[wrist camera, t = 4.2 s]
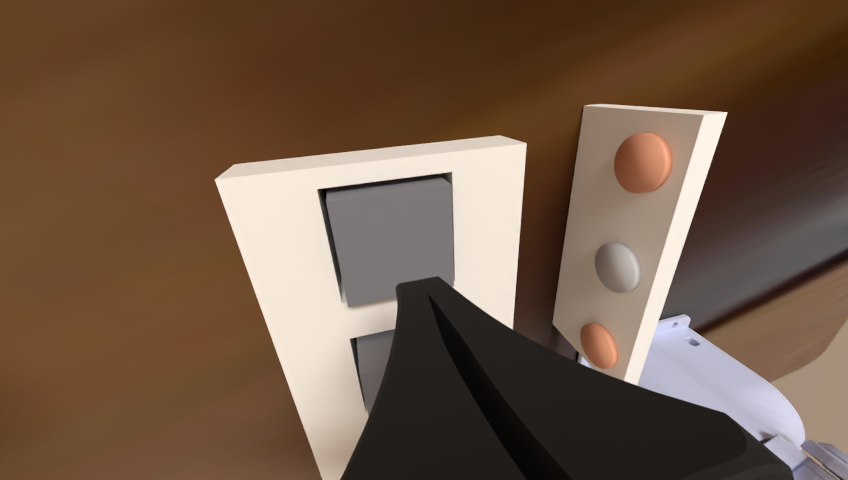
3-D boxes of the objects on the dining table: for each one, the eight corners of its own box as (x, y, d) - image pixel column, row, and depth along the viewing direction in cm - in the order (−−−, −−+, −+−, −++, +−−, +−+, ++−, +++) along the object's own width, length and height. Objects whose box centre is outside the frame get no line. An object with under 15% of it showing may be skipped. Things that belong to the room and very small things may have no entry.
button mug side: (432, 168, 15) (451, 184, 13) (436, 256, 17) (454, 286, 15) (327, 181, 14) (326, 202, 12) (346, 273, 16) (348, 307, 14)
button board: (500, 135, 16) (526, 143, 14) (488, 424, 25) (502, 456, 23) (234, 164, 13) (215, 179, 11) (333, 469, 23) (333, 509, 21)
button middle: (445, 310, 17) (463, 349, 15) (447, 373, 20) (464, 416, 17) (355, 329, 17) (359, 374, 14) (368, 393, 19) (374, 442, 16)
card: (601, 103, 16) (727, 112, 11) (565, 320, 23) (634, 391, 17) (576, 106, 16) (694, 116, 11) (547, 324, 22) (612, 398, 17)
